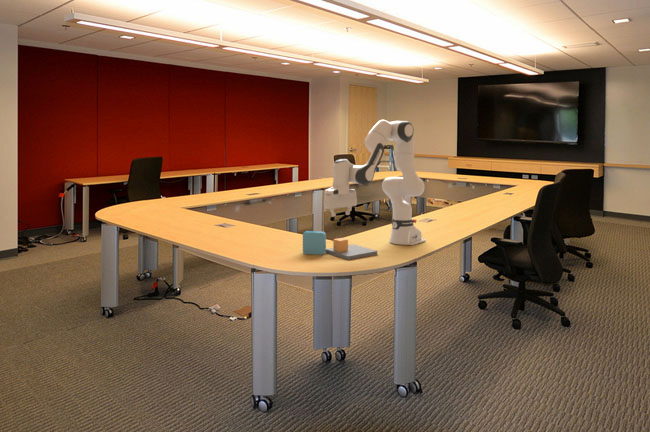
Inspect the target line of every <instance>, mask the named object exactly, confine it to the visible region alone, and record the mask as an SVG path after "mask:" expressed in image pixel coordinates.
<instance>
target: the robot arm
mask: <svg viewBox="0 0 650 432" xmlns="http://www.w3.org/2000/svg"><path fill="white" fill-rule="evenodd" d="M414 130H415V129H414V126H413V124H412V122H410V121H407V120H394V121H388V120H385V119H380V120H378V121H377V122H376V123H375V124H374V125H373V126H372V128H371V129H370V130H369V132H368V133H367V134H366V137H365V138H364V146H365V148H366V149H367V150H368V152H370V156H369V158H368V159H367V162H366V163H365V164H363V165H358V164H354V163H351V162H350V161H349V160H348V159H347V158H339V159H336V160H335V161H334V162H333V166H332V178H333V181H332V186H330V187H329V188H327V189H325V190H324V194H325V195H324V198H323V207H324V209H326V210H329V211H330V213H331V217H336V216H337V213H336V212H335V209H339V208H347V209H346V211H345V215H346V216H349V215H351V211H352V207H356V206H357V204H358V197H357V190H355V188H350V183H351V184H358V185H362V186H368V185H369V184H371V183H372V181H373V180H374V177H375V173H376V171H377V168H378V166H379V164H380V162H381V160H382V157H383V155H384V153H385V145H386V143H387V142H388V141H392V142H395V149H394V150H395V151H394V152H395V153H394V167H395V168H396V170H397V171H400V172H401V173H402V176H389V177H385V178H384V179H383V181H382V183H381V187H382V188H381V189H382V191H383V193H384V194H385V195H386V196H387V197H388V198H389V200H390V203H391V206H392V219H391V233H390V237H389V243H390V244H394V245H403V246H404V245H407V246H409V245H410V246H414V245H418V244H421V243H425V242H426V239H425V238H423V235H422V231H421V230H420V229H419V228H418V227H416V226H415V225H414V223H415V224H416V223H417V221H418V220H417V219H414V218H413V219H412V216H413V215H412V213H413V210H412V209H413V206H412V205H411V203H409V202H408V201H406V200H405V198H404V197H418V196H421V195H423V193H424V191H425V189H426V188H425V182H424V181H423V180H422V179H421V178H420V177H419V175H418V174H417V172H416V169H415V140H414V137H413V136H414V132H415V131H414Z"/></svg>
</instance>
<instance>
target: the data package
mask: <svg viewBox="0 0 650 432" xmlns="http://www.w3.org/2000/svg"><path fill="white" fill-rule="evenodd" d="M326 249H327V234H326V232H325V231H323V230H322V231H319V230H318V231H316V230H315V231H314V230H312V231H311V230H306V231H304V232H303V233H302V253H303V254H305V255H314V256H315V255H318V256H319V255H320V256H322V255H324V254H325V252H326Z"/></svg>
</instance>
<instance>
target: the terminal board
mask: <svg viewBox="0 0 650 432" xmlns="http://www.w3.org/2000/svg"><path fill="white" fill-rule="evenodd" d="M325 253H326V254H328V255H331V256H335V257H338V258H341V259H345V260H347V261H350V260H357V259H362V258H367V257H371V256H376V255H378V250H376V249H371V248H368V247H365V246H361V245H358V244H348V251H342V252H338V251H335V250H333V247H331V248H330V247H329V248H326V252H325ZM325 253H324V254H325Z"/></svg>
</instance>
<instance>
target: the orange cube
mask: <svg viewBox="0 0 650 432" xmlns="http://www.w3.org/2000/svg"><path fill="white" fill-rule="evenodd" d="M332 243H333V244H332V245H333V246H332V248H333V250H335V251H338V252H342V251H348V245H349V239H348V238H347V239H346V238H344V237H339V238H338V237H337V238H334V239H333V242H332Z"/></svg>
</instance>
